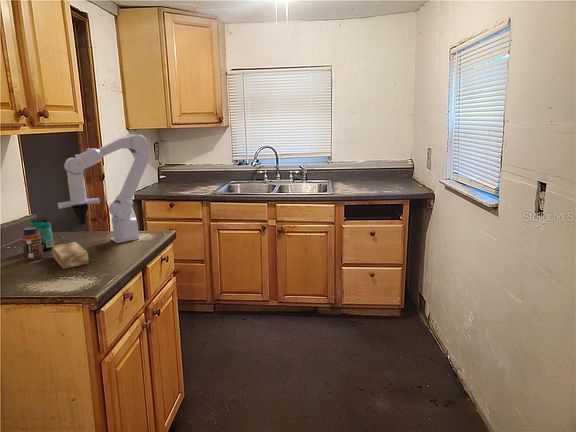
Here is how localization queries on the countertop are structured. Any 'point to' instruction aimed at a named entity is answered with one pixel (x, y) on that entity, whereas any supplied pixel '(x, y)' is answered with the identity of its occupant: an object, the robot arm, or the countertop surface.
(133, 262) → the countertop surface
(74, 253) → the tan rectangular block
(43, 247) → the beverage can
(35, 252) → the supplement bottle
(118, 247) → the countertop surface
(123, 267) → the countertop surface
